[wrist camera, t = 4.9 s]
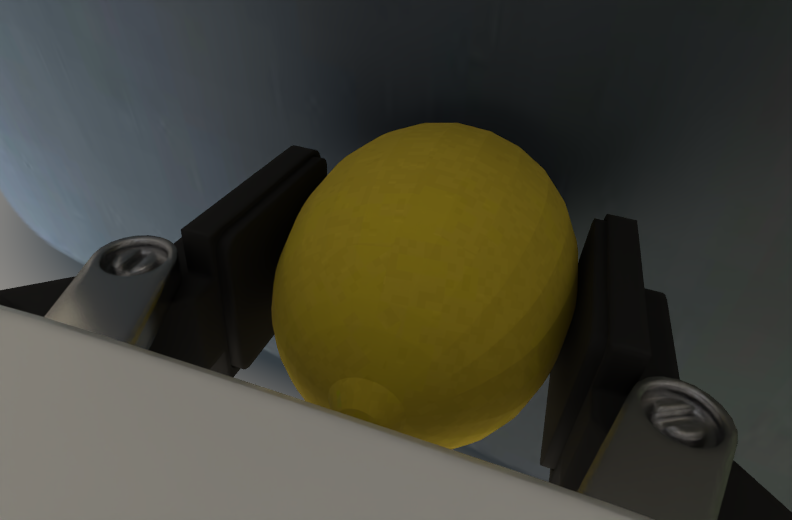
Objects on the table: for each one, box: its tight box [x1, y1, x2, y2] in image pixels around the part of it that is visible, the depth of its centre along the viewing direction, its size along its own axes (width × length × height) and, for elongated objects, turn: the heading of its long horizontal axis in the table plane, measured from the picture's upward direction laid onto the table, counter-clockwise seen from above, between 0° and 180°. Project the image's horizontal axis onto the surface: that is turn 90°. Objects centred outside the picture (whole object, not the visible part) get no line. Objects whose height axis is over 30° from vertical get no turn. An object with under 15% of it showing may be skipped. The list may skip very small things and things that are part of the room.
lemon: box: [271, 123, 578, 449], centre depth 10 cm, size 6×6×8 cm
